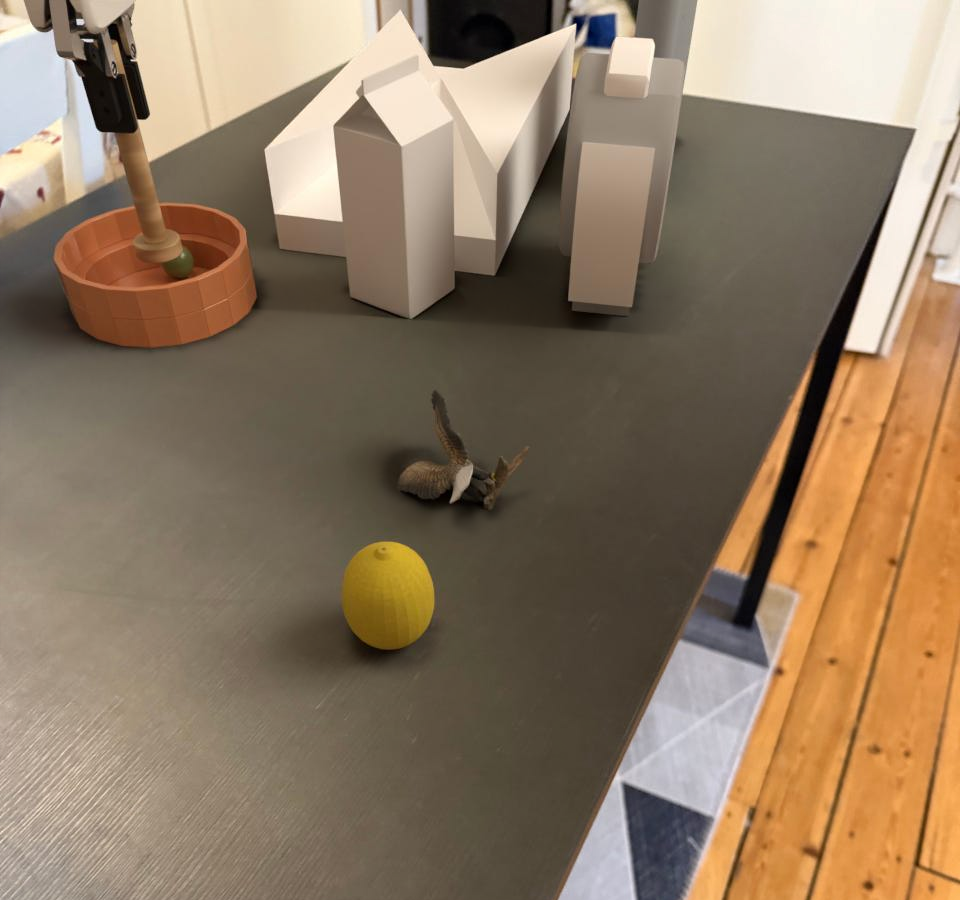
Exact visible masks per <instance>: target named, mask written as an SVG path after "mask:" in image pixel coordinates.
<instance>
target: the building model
mask: <svg viewBox="0 0 960 900" xmlns="http://www.w3.org/2000/svg"><path fill="white" fill-rule="evenodd" d="M576 34H577V23H574V24H571V25H569V26H566V27H564V28H561V29H559V30H556V31H554V32H551V33H549V34H547V35H544V36H541V37H539V38H537V39H534V40H532V41H529V42H526V43H524V44H521V45H519V46H516V47H514V48H511V49H509V50H506V51H504V52H501V53H500V54H496V55H494V56H492V57H489V58H487V59H486V58H485V59H484V60H481V61H479V62H476V63H474V64H471V65H469V66H467V67H464V68H460V67H459V68H458V67H448V66H440V65H439V66H438V65H434V64H433V63H432V61H431V59H430V57H429V56H428V55H427V52H426V51H425V49H424V47H423V46H422V44H421V42H420V41H419V39H418V37H417V35H416V33H415V32H414V30H413V28H412V27H411V25H410V24H409V22H408V20H407V18H406V17H405V15H404V13H403V12H402V9H399V10H398V11H397V12H396V13H395V14H394V15H393V17H391V19H389V20H388V22H387V23H385V25H383V27H381V29H380V30H379V31H378V32H377V33H376V34H375V35H374V36H372V38H371V39H370V40H369V41H368V42H367V43H366V44H365V45H364V47H362V48H361V49H360V50H359V52H358V53H357V54H356V55H355V56H354V57H353V58H351V60H349V62H348V63H347V64H346V65H344V67H343V68H342V69H341V70H340V71H339V72H338V73H337V74H336V75H335V76H334V77H333V78H332V79H331V80H330V81H329V82H328V84H327V85H326V86H324V87H323V88H322V90H321V91H320V92H319V93H317V95H315V97H314V98H313V99H312V100H310V102H309V103H308V104H307V105H306V106H305V107H304V108H303V109H302V110H301V111H300V112H299V113H298V114H297V115H296V116H295V117H294V118H293V119H292V121H290V123H289V124H288V125H286V127H285V128H283V130H282V131H281V132H280V133H279V134H278V135H277V136H276V137H275V138H274V139H273V140H272V141H271V142H270V143H269V144H268V145H267V146H266V147H265V148H264V149H263V150H264V156H265V163H266V169H267V176H268V181H269V188H270V189H269V190H270V196H271V201H272V207H273V215H274V221H275V229H276V234H277V241H278V247H279V249H280V250H286V251H292V252H293V251H294V252H301V253H310V254H318V255H326V256H332V257H333V256H334V257H341V258H346V250H345V240H344V230H343V220H342V210H341V200H340V190H339V180H338V171H337V161H336V151H335V141H334V130H333V125H334V124H335V123H336V122H337V121H338V120H339V119H340V118H341V117H342V116H343V115H344V113H345V112H346V111H347V110H348V109H349V108H350V107H351V106H352V105H353V104H354V103H355V102H356V101H357V100H358V99H359V97H358V96H357V94H356V91H357V89H358V88H359V87H360V86H361V85H362V83H361V80H362V79H363V78H365V77H367V76H369V75H372V74H374V73H376V72H378V71H381V70H383V69H385V68H387V67H390V66H392V65H394V64H396V63H399V62H401V61H403V60H406V59H408V58H410V57H412V56H415V55H418V57H419V71H420V72H421V74H422V75H423V76H424V78H425V79H426V81H427V82H428V83H429V85H430V86H431V88H432V89H433V90H434V92H435V93H436V95H437V96H438V97H439V99H440V100H441V102H442V103H443V105H444V106H445V107H446V109H447V110H448V112H449V113H450V114H451V116H452V117H453V163H454V263H455V272H460V273H461V272H462V273H470V274H478V275H485V276H493V277H495V276H496V274H497V271H498V269H499V268H500V264H501V262H502V260H503V258H504V256H505V254H506V252H507V250H508V247H509V245H510V242H511V241H512V238H513V236H514V234H515V231H516V230H517V228H518V225H519V223H520V220H521V218H522V216H523V214H524V212H525V210H526V207H527V206H528V203H529V201H530V198H531V197H532V193H533V191H534V190H535V187H536V186H537V183H538V181H539V178H540V176H541V174H542V172H543V169H544V168H545V165H546V163H547V161H548V158H549V156H550V154H551V152H552V150H553V147H554V145H555V143H556V140H557V138H558V136H559V134H560V131H561V129H562V127H563V125H564V124H565V120H566V118H567V117H568V114H569V113H570V110H571V99H572V83H573V71H574V58H575V46H576Z"/></svg>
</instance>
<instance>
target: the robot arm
mask: <svg viewBox="0 0 960 900" xmlns="http://www.w3.org/2000/svg"><path fill="white" fill-rule="evenodd" d="M136 1H137V0H23V3H24V6H25V10H26V13H27V16H28V18H29V21H30V23H31V25H32V27H33V28H34V29H35V30H36V31H37V32H39V33H49V32H51V31H52V33H53V39H54V40H53V41H54V47H55V51H56V54H57V55H58V57H59V58H62V59H67V60H69V61H71V62H72V63H73V66H74V69H75V72H76V74H77V76H78V77H80V78H81V81H82V85H83V89H84V91H85V94H86V98H87V101H88V106H89V108H90V111H91V115H92V119H93V122H94V126H95V128H96V130H97V132H99V133H108V134H109V133H110V134H112V133H113V134H114V133H135V132H136V131H137V129H138V125H137V121H136V117H135V113H134V109H135V112H136V116H137V120H138V121H146V120H147V119H149V117H150V115H151V112H150V108H149V104H148V103H149V102H148V98H147V96H146V91H145V87H144V84H143V80H142V75H141V72H140V67H139V63H138V61H137V57H138V51H137V46H136V42H135V38H134V33H133V29H132V26H133V23H132V20H133V19H132V17H133V14H134V10H135V2H136ZM77 20H83V22H84V23H83V24H78V22H77ZM110 39H112V40H115V41H117V43H118V47H119V51H120V54H121V58H122V62H123V66H124V70H125V74H126V78H127V81H128V85H129V89H130V93H131V97H132V101H133V105H134V109H133V105H132V101H131V98H130V94H129V90H128V86H127V82H126V78H125V74H118V67H117V63H116V59H115V55H114V51H113V48H112V44H111V40H110ZM85 40H93V41H96V40H97V44H98V48H99V49H98V48H97V47H96V46H95V45H94V43H92V42H93V41H85Z"/></svg>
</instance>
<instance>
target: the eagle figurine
mask: <svg viewBox="0 0 960 900" xmlns="http://www.w3.org/2000/svg"><path fill="white" fill-rule="evenodd" d="M430 402H431V404H432V409H433V411H434V431H435V434H436V436H437V438H438V440H439V443H440V445H441V446H442V448H443V449H444V451H445V453H446V454H447V456H448V458H449V459H450V460H449V462H448V463H447V464H441V463H437V462H435V461H434V462H433V461H428V460H420V461H416V462H414V463H412V464H411V465H408V466H407V467H406V469H405V470H404V471H403V472H402V473H401V474H400V476H399V478H398V480H397V490H398V492H401V491H402V492H405V493H411V494H413V495H417V497H418V498H420V499H421V500H435V499H437V498H438V499H439V498H440V496H441V494H445V493H446V491H447V490H448V491H451V490H452V494H451V497H450V500H449V504H450V505H452V504H453V503H455V502H456V501H458V500H460V498H461V496H462V494H463V493H464V494H466V495H467V496H470V497H471V498H473V499H474V500H477V501H483V507H484V508H485V509H487V510H492V509H493V507H494V505H495V502H496V500H497V499H498V498H499V495H500V493H501V492H502V489H503V488H504V486H505V485H506V483H507V482H508V480H509V479H510V478H511V477H512V475H513V474H514V473H515V472H516V470H517V469H518V468H519V466H520V465H521V463H522V462H523V461H524V460H525V458H526V456H527V454H528V452H529V450H530V446H529V445H527V446H525V447H524V448H523V449H522V450H521V451H520V452H519V453H518V454H517V455H516V456H515V458H514V459H513V460H511V462H510V463H508V461H507V460H506V459H504V457H503V456H502V455H500V456H499V458H498V460H497V463H496V467H495V470H494V472H491V471H486V470H483V469H481V468H479V467H477V466H475V464H474V463H473V462H472V461H471V460H469V459H468V453H469V451H468V449H467V448H466V444H465V443H464V440H463V438H462V437H461V435H460V433H459V432H458V431H457V432H456V431H455V430H454V429H453V427H452V424H451V419H450V416H449V414H448V413H449V411H448V409H447V400H446V399H445V397H444V396H443V394H442V393H440V392H439V391H438V390H437V389H436V388H435V389H434V390H433V391H432V392H431V398H430ZM474 479H475V480H477V481H481V482H482V483H483V484H484V485H485V487H486V493H483V492H482V491H481V490H480V489H479V488H478V487H476V486H475V485H474V484H473V482H472V481H473V480H474Z"/></svg>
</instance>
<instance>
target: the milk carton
mask: <svg viewBox="0 0 960 900" xmlns="http://www.w3.org/2000/svg"><path fill="white" fill-rule="evenodd" d="M361 83H362V85H361V86H360V87H359V88H358V89H357V91H356V94H357V96H358V97H359V99H358V100H357V101H356V102H355V103H354V104H353V105H352V106H351V107H350V108H349V109H348V110H347V111H346V112H345V113H344V115H343V116H342V117H341V118H340V119H339V120H338V121H337V122H336V123H335V124H334V125H333V130H334V141H335V151H336V161H337V171H338V180H339V190H340V200H341V210H342V220H343V230H344V240H345V250H346V257H345V259H346V268H347V278H348V289H349V296H350V298H351V299H352V298H353V299H355V300H357V301H360V302H363V303H366V304H368V305H370V306H373V307H375V308H377V309H381V310H384V311H386V312H388V313H392V314H395V315H397V316H399V317H402V318H404V319H407V320H412V319H414V318H415V317H416V316H418V315H419V314H421V313H422V312H424V311H425V310H427V309H428V308H430V307H431V306H432V305H434V304H435V303H437V302H438V301H439V300H441V299H443V298H444V297H445V296H447V295H448V294H449V293H451V292H452V291H453V290H455V288H456V281H455V276H456V275H455V274H456V273H455V272H456V271H455V263H454V163H453V117H452V116H451V114H450V113H449V112H448V110H447V109H446V107H445V106H444V105H443V103H442V102H441V100H440V99H439V97H438V96H437V95H436V93H435V92H434V90H433V89H432V88H431V86H430V85H429V83H428V82H427V81H426V79H425V78H424V76H423V75H422V74H421V72H420V71H419V57H418V55H415V56H412V57H410V58H408V59H406V60H403V61H401V62H399V63H396V64H394V65H392V66H390V67H387V68H385V69H383V70H381V71H378V72H376V73H374V74H372V75H369V76H367V77H365V78H363V79H362V80H361Z"/></svg>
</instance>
